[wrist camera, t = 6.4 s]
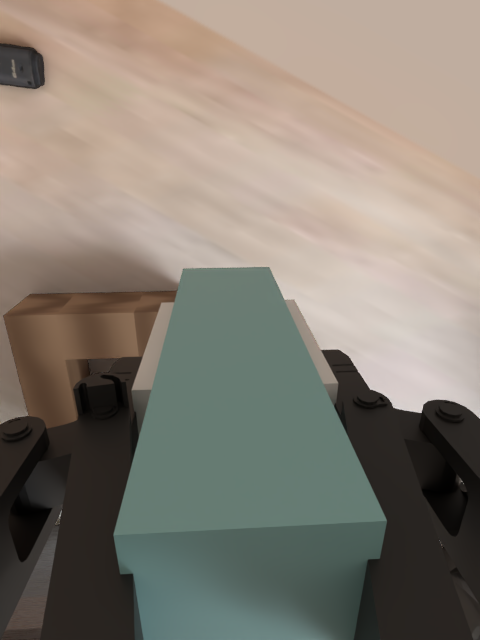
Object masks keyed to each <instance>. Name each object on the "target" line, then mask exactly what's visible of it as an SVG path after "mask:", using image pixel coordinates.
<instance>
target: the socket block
mask: <svg viewBox="0 0 480 640" xmlns="http://www.w3.org/2000/svg"><path fill="white" fill-rule="evenodd" d="M176 294H177V291H156V292H111V293H66V294H30V295H29V296H27V297H26V298H25V299H24V300H22V301H21V302H20V303H19V304H17V305H16V306H15V307H14V308H13V309H11V310H10V311H9V312H8V313H6V314H5V315H4V316H3V317H4V321H5V325H6V329H7V333H8V337H9V341H10V344H11V348H12V352H13V356H14V360H15V364H16V368H17V372H18V376H19V380H20V384H21V388H22V391H23V395H24V399H25V403H26V407H27V411H28V415H29V416H32V417H39V418H40V419H42V420H44V422H45V425H46V429H48V428H52V427H56V426H60V425H64V424H68V423H71V422H74V421H76V420H77V419H78V412H77V407H76V402H75V397H74V392H73V388H74V386H75V385H76V383H78V382H79V381H80V380H82V379H83V378H85V377H88V376H90V371H89V365H88V360H87V359H103V358H122V357H141V356H143V355H144V352H145V349H146V346H147V343H148V340H149V338H150V335H151V332H152V329H153V326H154V323H155V320H156V317H157V314H158V311H159V308H160V305H161V303H167V302H175V298H176Z"/></svg>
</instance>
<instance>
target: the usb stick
mask: <svg viewBox="0 0 480 640" xmlns="http://www.w3.org/2000/svg"><path fill="white" fill-rule="evenodd" d="M44 82H45V78H44V63H43V57H42V55H41V54H39V53H37V51H36V50H35V49H34V48H30V47H22V46H16V45H11V44H1V43H0V84H1V85H10V86H16V87H24V88H32V89H37V88H39V87H40V86H43V85H44Z"/></svg>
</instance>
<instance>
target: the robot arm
mask: <svg viewBox="0 0 480 640" xmlns="http://www.w3.org/2000/svg"><path fill="white" fill-rule="evenodd" d="M285 302H286V305H287V307H288V309H289V311H290V313H291V315H292V318H293V320H294V322H295V324H296V326H297V328H298V330H299V333H300V335H301V337H302V339H303V341H304V343H305V345H306V348H307V350H308V352H309V354H310V356H311V358H312V361H313V363H314V365H315V367H316V369H317V371H318V373H319V376H320V378H321V380H322V382H323V384H324V386H325V388H326V391H327V393H328V395H329V397H330V399H331V401H332V404H333V406H334V408H335V410H336V412H337V414H338V416H339V419H340V421H341V423H342V425H343V427H344V429H345V431H346V434H347V436H348V438H349V440H350V442H351V444H352V447H353V449H354V451H355V453H356V455H357V457H358V459H359V462H360V464H361V466H362V468H363V470H364V472H365V474H366V477H367V479H368V481H369V483H370V485H371V487H372V490H373V492H374V494H375V496H376V498H377V500H378V502H379V505H380V507H381V509H382V511H383V513H384V515H385V517H386V520H387V524H386V529H385V534H384V539H383V545H382V550H381V555H380V559H368V562H367V567H366V573H365V579H364V584H363V590H362V596H361V601H360V607H359V613H358V618H357V624H356V630H355V635H354V640H480V419H479V418H478V417H477V416H476V415H475V414H474V413H473V412H472V411H470V410H469V409H467V408H466V407H464V406H462V405H460V404H457V403H455V402H452V401H451V402H450V401H447V400H432V401H428V402H427V403H425V404H424V405H423V410H422V413H416V412H410V411H404V410H399V409H395V408H393V406H392V403H391V402H390V400H389V399H388V398H387V397H385V396H384V395H383V394H381V393H378V392H376V391H373V390H370V389H369V387H368V386H367V384H366V383H365V381H364V380H363V378H362V376H361V375H360V373H359V372H358V370H357V369H356V367H355V366H354V364H353V363H352V361H351V359H350V358H349V356H347V355H346V354H344V353H343V352H341V351H340V350H320V348H319V346H318V344H317V342H316V340H315V338H314V336H313V334H312V333H311V331H310V329H309V327H308V325H307V323H306V321H305V319H304V317H303V316H302V314H301V312H300V310H299V308H298V306H297V304H296V302H295V300H285ZM173 306H174V302H167V303H161V305H160V308H159V311H158V314H157V317H156V320H155V323H154V326H153V329H152V332H151V335H150V338H149V340H148V343H147V346H146V349H145V352H144V355H143V356H141V357H122V358H120V359H119V360H118V361H117V362H115V363H114V364H113V365H112V367H111V369H110V372H109V373H98V374H94V375H90V376H88V377H85V378H83V379H82V380H80V381H79V382H78V383H76V385H75V386H74V388H73V392H74V397H75V402H76V407H77V412H78V419H77V420H76V421H74V422H71V423H68V424H64V425H60V426H56V427H52V428H48V429H46V425H45V422H44V420H42V419H40V418H39V417H32V416H26V417H18V418H15V419H11V420H9V421H6V422H5V423H3V424H1V425H0V640H1V638H2V636H3V634H4V632H5V630H6V628H7V625H8V623H9V621H10V619H11V617H12V615H13V613H14V610H15V608H16V606H17V604H18V602H19V600H20V598H21V596H22V593H23V591H24V589H25V587H26V585H27V583H28V581H29V578H30V576H31V574H32V572H33V570H34V568H35V566H36V564H37V561H38V559H39V557H40V555H41V553H42V551H43V549H44V546H45V544H46V542H47V540H48V538H49V536H50V534H51V532H52V529H53V527H54V525H55V523H56V521H57V519H58V517H59V514H60V512H61V510H62V513H61V519H60V525H59V531H58V536H57V542H56V548H55V554H54V560H53V566H52V572H51V577H50V583H49V589H48V595H47V601H46V607H45V613H44V619H43V624H42V630H41V636H40V640H144V639H143V633H142V626H141V620H140V614H139V607H138V601H137V595H136V588H135V582H134V576H133V574H120V570H119V564H118V559H117V553H116V547H115V542H114V536H113V535H114V531H115V527H116V523H117V520H118V516H119V512H120V508H121V504H122V500H123V497H124V493H125V489H126V485H127V481H128V478H129V474H130V470H131V466H132V462H133V458H134V455H135V451H136V447H137V443H138V439H139V436H140V432H141V428H142V424H143V420H144V416H145V413H146V409H147V405H148V401H149V397H150V393H151V390H152V386H153V382H154V378H155V374H156V371H157V367H158V363H159V359H160V355H161V351H162V348H163V344H164V340H165V336H166V332H167V329H168V325H169V321H170V317H171V313H172V309H173ZM461 480H462V481H461ZM463 483H464V484H463ZM438 538H439V539H438ZM439 540H440V541H441V543H442V545H443V546H444V549H442V547H441V544H440V542H439Z"/></svg>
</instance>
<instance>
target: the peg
mask: <svg viewBox="0 0 480 640" xmlns="http://www.w3.org/2000/svg"><path fill="white" fill-rule="evenodd" d="M386 524H387V520H386V517H385V515H384V513H383V511H382V509H381V507H380V505H379V502H378V500H377V498H376V496H375V494H374V492H373V490H372V487H371V485H370V483H369V481H368V479H367V477H366V474H365V472H364V470H363V468H362V466H361V464H360V462H359V459H358V457H357V455H356V453H355V451H354V449H353V447H352V444H351V442H350V440H349V438H348V436H347V434H346V431H345V429H344V427H343V425H342V423H341V421H340V419H339V416H338V414H337V412H336V410H335V408H334V406H333V404H332V401H331V399H330V397H329V395H328V393H327V391H326V388H325V386H324V384H323V382H322V380H321V378H320V376H319V373H318V371H317V369H316V367H315V365H314V363H313V361H312V358H311V356H310V354H309V352H308V350H307V348H306V345H305V343H304V341H303V339H302V337H301V335H300V333H299V330H298V328H297V326H296V324H295V322H294V320H293V318H292V315H291V313H290V311H289V309H288V307H287V305H286V302H285V300H284V298H283V296H282V294H281V292H280V290H279V287H278V285H277V283H276V281H275V279H274V277H273V275H272V272H271V270H270V268H269V267H251V268H196V269H183V271H182V275H181V279H180V283H179V287H178V290H177V294H176V298H175V302H174V306H173V309H172V313H171V317H170V321H169V325H168V329H167V332H166V336H165V340H164V344H163V348H162V351H161V355H160V359H159V363H158V367H157V371H156V374H155V378H154V382H153V386H152V390H151V393H150V397H149V401H148V405H147V409H146V413H145V416H144V420H143V424H142V428H141V432H140V436H139V439H138V443H137V447H136V451H135V455H134V458H133V462H132V466H131V470H130V474H129V478H128V481H127V485H126V489H125V493H124V497H123V500H122V504H121V508H120V512H119V516H118V520H117V523H116V527H115V531H114V535H113V536H114V542H115V547H116V553H117V559H118V564H119V570H120V574H133V576H134V582H135V588H136V595H137V601H138V607H139V614H140V620H141V626H142V633H143V639H144V640H354V635H355V630H356V624H357V618H358V613H359V607H360V601H361V596H362V590H363V584H364V579H365V573H366V567H367V562H368V559H380V555H381V550H382V545H383V539H384V534H385V529H386Z"/></svg>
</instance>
